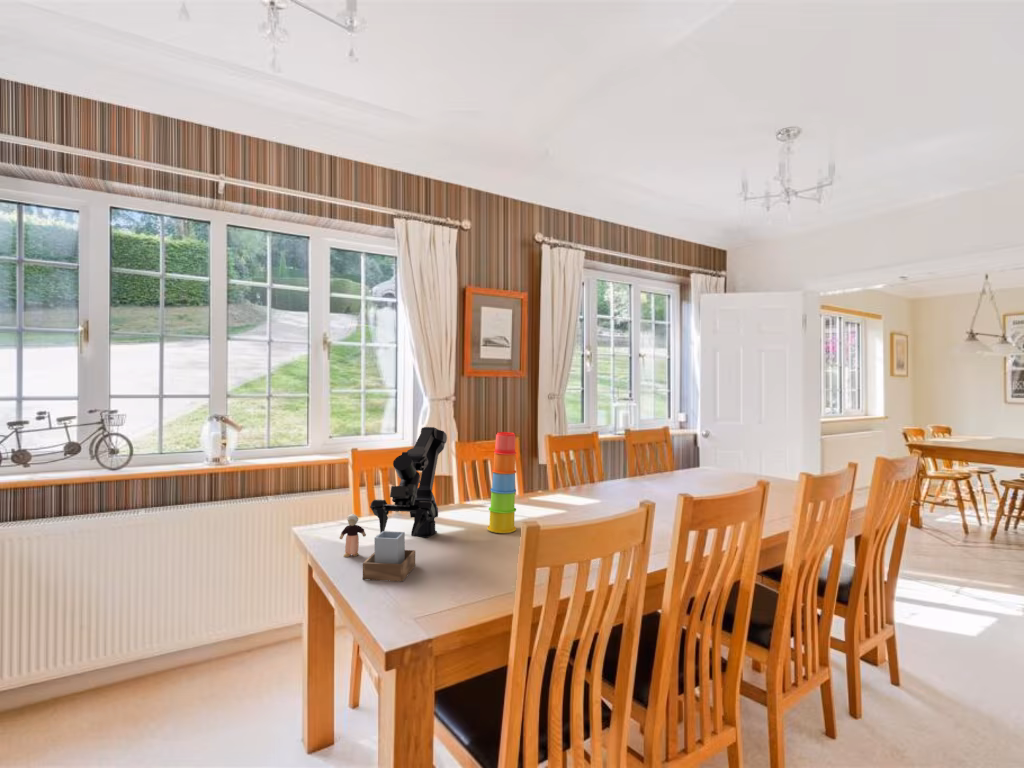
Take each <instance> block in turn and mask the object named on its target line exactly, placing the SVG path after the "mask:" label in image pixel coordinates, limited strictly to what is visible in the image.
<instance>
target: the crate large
mask: <svg viewBox="0 0 1024 768" xmlns="http://www.w3.org/2000/svg"><path fill="white" fill-rule="evenodd" d="M415 567H416V549H415V550H414V549H405V560H404V562H403V563H402V564H389V563H375V551H374V552H373V553H371V555H370V556H369V557H368V558H366V559H365V560H364V561H363V562H362V580H363V579H370V580H369V581H380V580H388V581H387V582H400V581H403V580H404V579H406V578H407V577H408V576H409V575H410V574H411V572H412V571H413V570H412V569H414V568H415ZM408 574H409V575H408ZM407 575H408V576H407ZM389 580H390V581H389ZM404 581H405V580H404ZM404 581H403V582H404Z"/></svg>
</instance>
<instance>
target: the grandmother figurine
mask: <svg viewBox="0 0 1024 768" xmlns="http://www.w3.org/2000/svg"><path fill="white" fill-rule="evenodd" d="M346 520H347V523H348V525H347V526H345V527H344V529H342V531H341V533H340V535H339V537H338V538H339V540H343V539H344V537H345V535H346V537H345V544H344V545H345V546H344V548H345V550H344V552H345V553H344V554H343V558H349V557H350V556H352V557H358V556H360V553H359V543H360V542H359V534H358V533H360V534H361V535H362V537H364V538H365V537H366V536H367V533H366V532H365V529H364V528H363V527H362V526H360V525H358V524H357V523H358V521H359V517H358V515H356V514H355V513H351V514H348V515H347V519H346ZM357 555H358V556H357Z"/></svg>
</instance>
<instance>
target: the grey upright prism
mask: <svg viewBox="0 0 1024 768" xmlns="http://www.w3.org/2000/svg"><path fill="white" fill-rule="evenodd" d="M405 536H406V535H405V531H382V532H381V533H380V532H379V534H377V535H376V536H375V537H374V552H375V563H389V564H402V563H403V562H404V560H405V550H406V549H405V548H406V546H405V541H406V539H405Z"/></svg>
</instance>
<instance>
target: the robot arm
mask: <svg viewBox="0 0 1024 768" xmlns="http://www.w3.org/2000/svg"><path fill="white" fill-rule="evenodd" d="M420 430H421V431H420V434H419V436H418V438H417V439H416V442H415V444H414V446H413V447H411V448H410V449H408V450H407V451H402V453H401V454H399V455H398V456H397V457H395V458H394V460H393V461H392V465H393V468H394V470H395V473H396V474H397V476H398V478H399V479H400V482H399V485H392V486H391V487H390V495H389V497H390V498H391V499H392V503H394V504H388V502H387V501H386V499H373V500H372V501H371V503H370V506H369V507H370V509H371V511H372V513H373V514H374V516H376V517H377V518H378V520H379V530H380V531H379V534H380V533H381V532H382V531H385V530H386V526H387V523H388V519H389V517H388V515H389V512H404V513H405V512H406V513H409V516H410V517H409V518H413V521H414V522H413V525H412V528H411V534H410V535H411V537H414V536H415V537H420V538H429V537H430V536H433V535H435V534H437V532H438V531H437V530H436V520H435V519H436V518H438V517H439V507H438V505H437V503H436V498H435V496H434V494H433V487H434V483H435V477H436V476H435V474H436V470H437V469H436V468H437V465H438V464H437V463H438V458H439V455H440V454H441V452H443V451H444V448H445V444H446V443H447V441H448V440H447V439H448V437H447V433H446V432H445V431H444V430H441V429H438V428H437V427H435V426H433V427H432V426H423V427H421V429H420ZM420 472H421V475H420Z"/></svg>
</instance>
